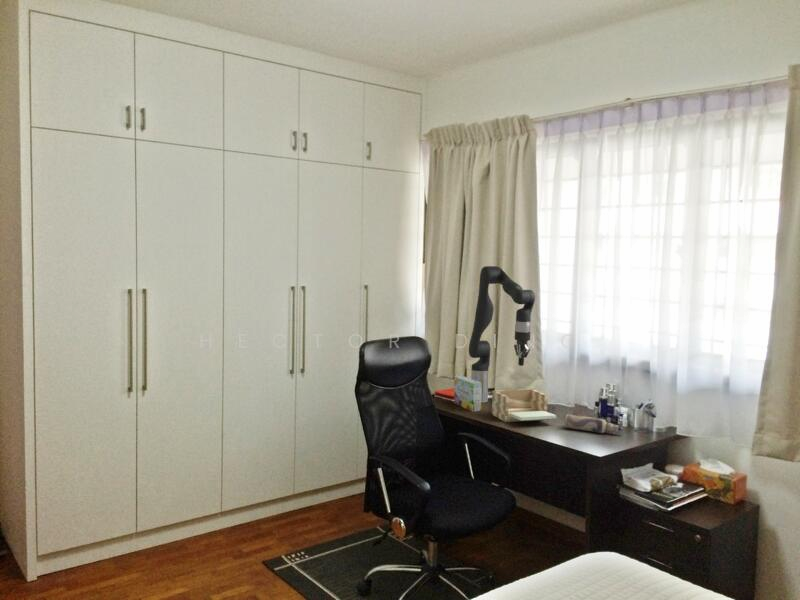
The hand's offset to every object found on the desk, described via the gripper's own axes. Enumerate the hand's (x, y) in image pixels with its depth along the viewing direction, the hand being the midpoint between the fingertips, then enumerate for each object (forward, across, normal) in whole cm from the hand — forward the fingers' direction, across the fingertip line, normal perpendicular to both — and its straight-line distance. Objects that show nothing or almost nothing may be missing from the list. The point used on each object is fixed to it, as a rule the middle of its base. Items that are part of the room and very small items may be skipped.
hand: (521, 365), depth 330 cm
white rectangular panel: (+23, +8, 0) cm, 24 cm away
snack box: (+27, -25, -17) cm, 41 cm away
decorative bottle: (+25, +33, +20) cm, 46 cm away
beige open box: (+26, 0, 0) cm, 26 cm away
